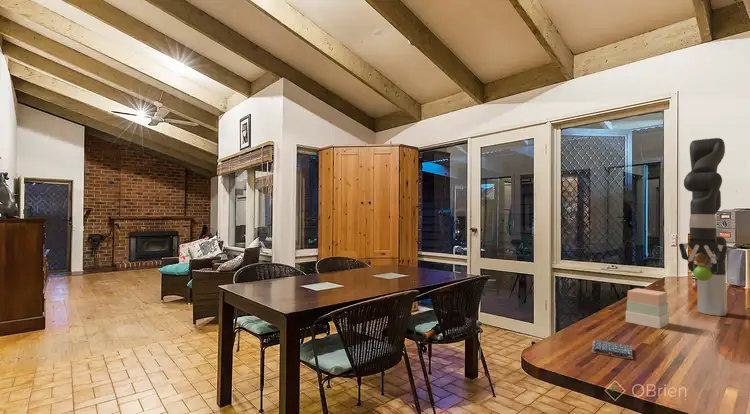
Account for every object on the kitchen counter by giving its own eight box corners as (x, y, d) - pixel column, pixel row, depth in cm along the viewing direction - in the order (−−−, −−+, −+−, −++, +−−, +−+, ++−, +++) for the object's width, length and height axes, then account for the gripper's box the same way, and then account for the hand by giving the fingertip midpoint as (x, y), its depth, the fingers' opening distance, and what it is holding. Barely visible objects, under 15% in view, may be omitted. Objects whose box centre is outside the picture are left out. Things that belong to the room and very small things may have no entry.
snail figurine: (719, 282, 136) (719, 248, 136) (701, 281, 136) (701, 248, 136) (706, 279, 141) (706, 247, 141) (689, 279, 141) (689, 247, 141)
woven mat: (631, 351, 116) (631, 344, 116) (633, 362, 107) (633, 354, 107) (592, 344, 122) (592, 337, 122) (591, 354, 113) (591, 347, 113)
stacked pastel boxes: (635, 317, 154) (635, 287, 155) (668, 323, 146) (668, 292, 146) (625, 321, 147) (625, 290, 148) (659, 328, 139) (659, 295, 139)
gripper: (731, 227, 136) (731, 274, 135) (681, 225, 147) (681, 269, 147) (726, 227, 131) (727, 276, 131) (675, 226, 142) (675, 271, 142)
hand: (703, 272), depth 139 cm, fingers closed on snail figurine, 5 cm apart
